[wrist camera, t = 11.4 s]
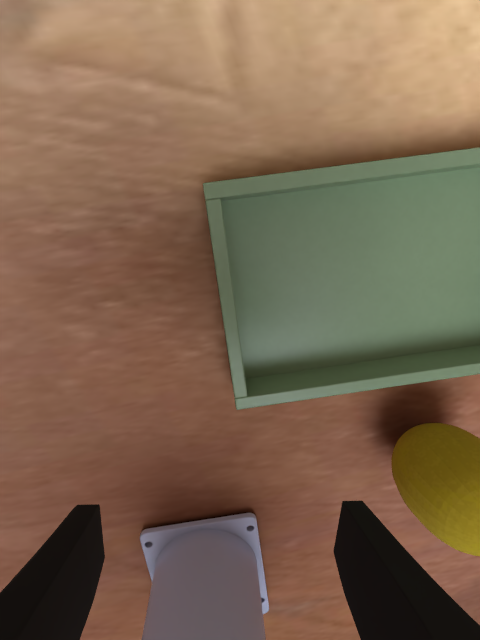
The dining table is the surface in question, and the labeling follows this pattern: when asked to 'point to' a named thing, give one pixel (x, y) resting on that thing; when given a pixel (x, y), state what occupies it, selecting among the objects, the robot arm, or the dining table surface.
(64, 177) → the dining table surface
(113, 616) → the dining table surface
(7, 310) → the dining table surface
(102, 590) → the dining table surface
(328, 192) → the tray
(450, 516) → the lemon
